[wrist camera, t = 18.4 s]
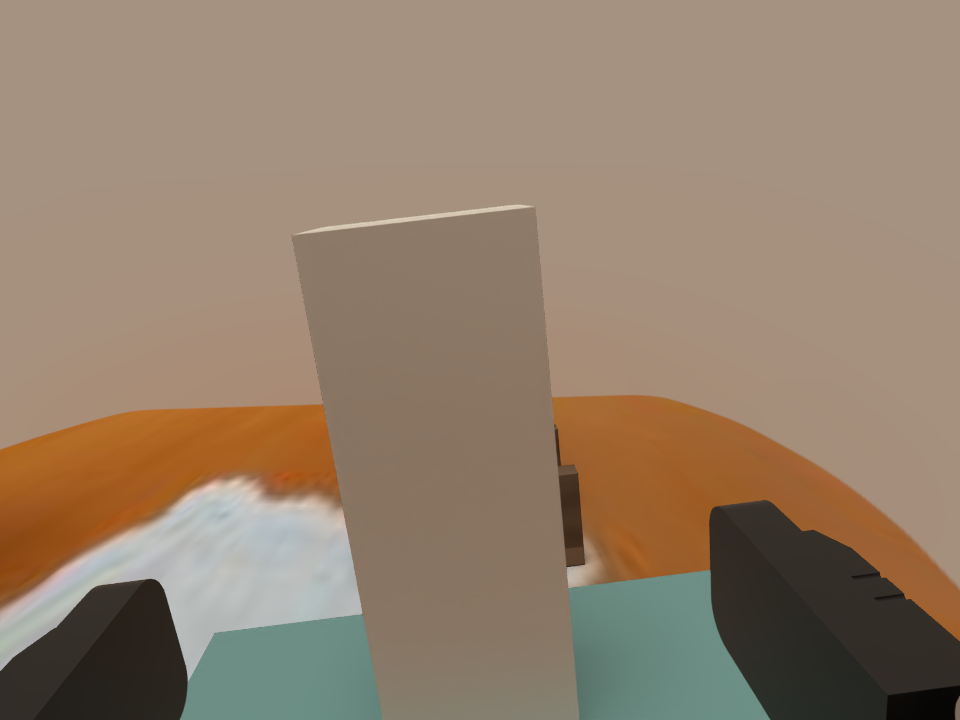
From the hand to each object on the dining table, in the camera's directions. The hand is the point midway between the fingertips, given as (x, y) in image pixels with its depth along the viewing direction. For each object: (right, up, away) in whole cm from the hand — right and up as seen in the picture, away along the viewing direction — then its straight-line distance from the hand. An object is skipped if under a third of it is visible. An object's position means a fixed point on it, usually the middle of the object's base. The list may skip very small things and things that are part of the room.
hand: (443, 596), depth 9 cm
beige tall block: (+1, -8, +12) cm, 15 cm away
